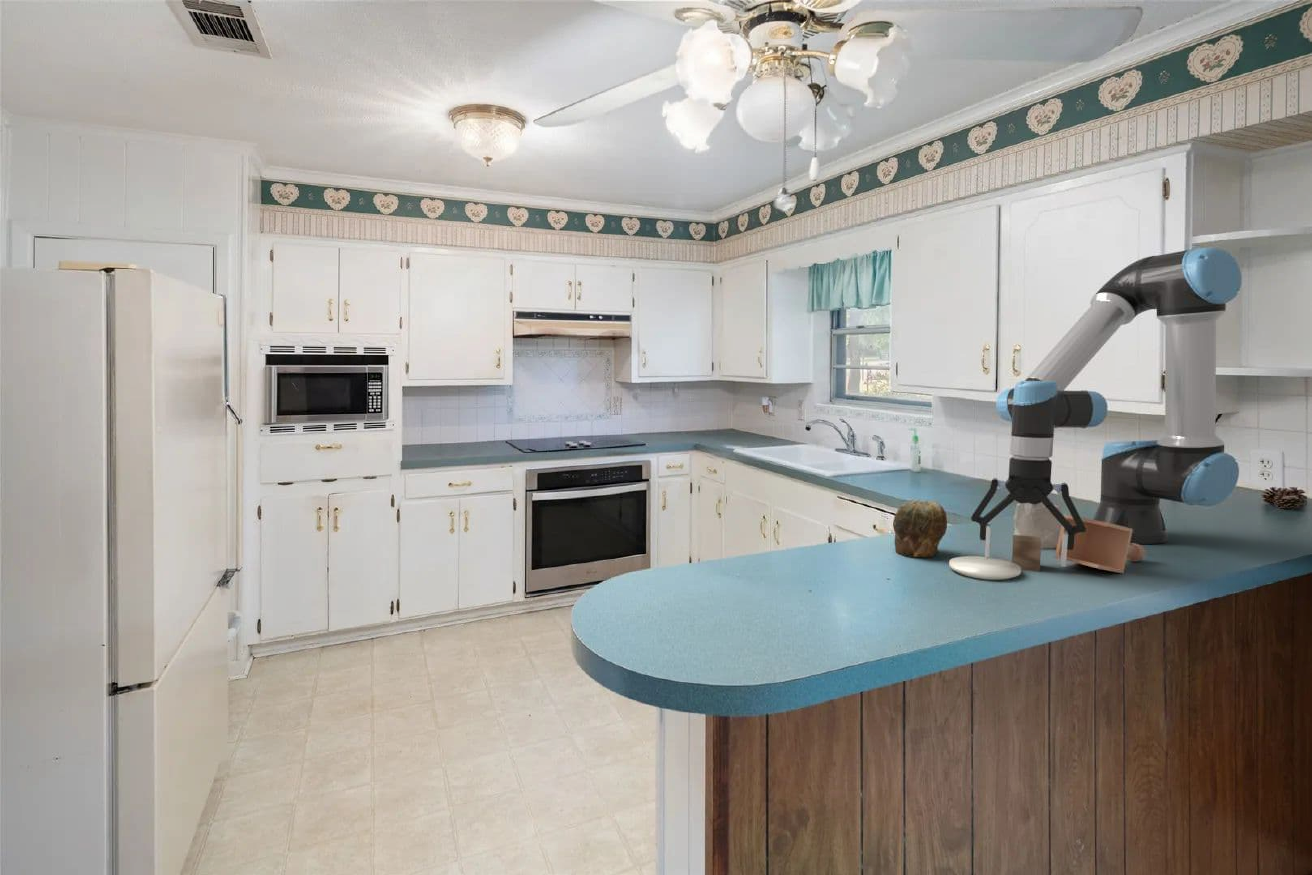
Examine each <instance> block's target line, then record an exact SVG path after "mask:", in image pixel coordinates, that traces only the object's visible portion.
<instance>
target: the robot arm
mask: <svg viewBox="0 0 1312 875" xmlns="http://www.w3.org/2000/svg"><path fill="white" fill-rule="evenodd" d="M1235 258H1236V257H1234V256H1232V254H1231V253H1230V252H1229V251H1227V250H1226V249H1223V248H1221V247H1217V246H1212V247H1211V246H1210V247H1209V246H1208V247H1195V248H1191V249H1185V250H1180V251H1175V252H1170V253H1166V254H1159V255H1158V254H1157V255H1151V256H1150V255H1149V256H1146V257H1143V258H1140V259H1138V260H1136V261H1134V262H1132V263H1131V264H1128V265H1127V266H1126V267H1124V268H1123V269H1121V270H1120V271H1118V272H1117V273H1116V274H1115V275H1113V276H1112V277H1111V278H1110V279H1109V280H1108V281H1107V282H1106V283H1104V284H1103V285H1102V286H1101V287H1100V289H1099V290H1098V291H1097V292H1096V293H1095V294H1094V295H1093V296H1092V297H1091V299H1090V307H1089V308H1088V309H1087V310H1086V311H1085V312H1084V313H1083V314H1082V316H1081V317H1080V318H1079V319H1078V320H1077V321H1076V322H1075V324H1073V326H1072V327H1071V328H1070V329H1069V330H1068V331H1067V332H1066V334H1065V335H1064V336H1063V337H1062V338H1061V339H1060V340H1059V342H1057V344H1056V345H1055V346H1054V347H1053V348H1052V349H1051V351H1049V353H1048V354H1047V355H1046V356H1045V357H1044V358H1043V360H1042V361H1041V362H1040V363H1039V364H1038V365H1037V366H1036V367H1035V368H1034V369H1033V371H1032V372H1031V373H1030V374H1029V375H1028V376H1027V377H1026V378H1025V379H1024V380H1020V381H1018V382H1016V384H1015V385H1014V387H1013V388H1007V389H1005V390H1003V391H1001V393H1000V394H999V395H998V396H997V398H996V402H995V407H996V409H995V410H996V413H997V414H998V416H999V417H1000V418H1001V419H1002V420H1004V421H1006V422H1011V432H1010V433H1011V434H1010V445H1009V446H1010V448H1009V454H1010V455H1011V456H1012V457H1010V458H1009V463H1008V464H1009V467H1008V478H1007V480H1002V479H999V478H997V477H993V478H992V479H991V482H990V488H988V490H987V492H986V494H985V495H984V497H983V498H982V500H981V501H980V502H979V504H978V506H977V507H976V509H975V510H974V512H973V513H972V515H971V517H970V519H971V521H972V522H975V523H977V524H978V525H979V529H980V530H979V539H980V541H985V543H984V544H985V545H984V546H985V547H984V557H988V558H989V557H990V547H991V546H990V545H991V544H990V543H991V530H992V528H991V526H992V524H991V523H990V522H991V521H992V520H993V519H994V518H995V517H997V516H998V515H999V514H1000V513H1001V512H1002V511H1003V510H1005V509H1006V508H1007V507H1008V506H1009V505H1011V504H1012V503H1013V502H1017V503H1018V504H1019V503H1030V504H1035V505H1037V504H1039V503H1041V502H1042V503H1043V504H1044V505H1045V507H1046V508H1047V509H1048V510H1049V511H1050V512H1051V513H1052V514H1053V516H1054V517H1055V518H1056V519H1057V520H1058V521H1059V522H1060V524H1061V525H1062V526H1063V527H1064V528H1065V529H1066V531H1067V532H1063V537H1062V551H1061V559H1060V565H1061V567H1065V568H1066V567H1067V560H1066V557H1067V550H1073V548H1074V537H1075V534H1076V533H1079V532H1085V531H1086V528H1085V526H1084V524H1083V522H1082V520H1081V518H1082V517H1081V515H1080V514H1079V512H1078V510H1077V508H1076V506H1075V504H1074V502H1073V500H1072V498H1071V496H1070V488H1069V485H1068V484H1067V483H1066V482H1062V483H1057V484H1056V483H1055V484H1053V483H1052V479H1051V478H1052V465H1053V462H1052V460H1051V459H1050V458H1052V457H1053V449H1054V437H1055V436H1054V435H1055V434H1054V433H1055V429H1057V428H1062V429H1065V428H1066V429H1067V428H1069V429H1070V428H1072V429H1073V428H1074V429H1075V428H1076V429H1077V428H1080V429H1086V428H1094V427H1097V426H1099V425H1101V424H1102V423H1103V422H1104V421H1105V419H1106V418H1107V416H1108V406H1109V405H1108V402H1107V400H1106V398H1105V397H1104V395H1102V394H1101V393H1099V392H1097V391H1092V390H1090V391H1089V390H1086V389H1085V390H1066V388H1068V386H1069V385H1070V384H1071V383H1072V382H1073V380H1075V378H1076V377H1077V376H1078V375H1079V374H1080V373H1081V372H1082V370H1084V368H1085V367H1086V366H1087V365H1088V364H1089V362H1090V361H1091V360H1092V359H1093V358H1094V357H1095V356H1096V354H1098V353H1099V351H1100V350H1101V349H1102V348H1103V347H1104V345H1105V344H1106V343H1107V342H1108V341H1109V340H1110V339H1111V338H1112V337H1113V335H1114V334H1115V333H1116V332H1117V331H1118V329H1120V328H1121V327H1122V326H1123V325H1127V324H1130V323H1131V322H1133V320H1134V319H1135V317H1137V316H1138V315H1140V314H1141V313H1143V312H1147V311H1151V310H1156V319H1158V320H1159V321H1160V322H1162V323H1163V324H1164V326H1165V327H1164V328H1165V329H1164V331H1165V332H1164V333H1165V334H1164V335H1165V336H1164V337H1165V338H1164V340H1165V342H1164V346H1165V347H1164V349H1165V351H1164V352H1165V353H1164V354H1165V356H1164V357H1165V358H1164V359H1165V361H1164V362H1165V363H1164V364H1165V366H1164V372H1165V374H1164V376H1165V377H1164V378H1165V379H1164V385H1165V386H1164V388H1165V389H1164V395H1165V396H1164V398H1165V400H1164V403H1165V404H1164V405H1165V406H1164V408H1165V409H1164V413H1165V415H1164V419H1165V420H1164V422H1165V423H1164V424H1165V426H1164V428H1165V429H1164V430H1165V434H1164V435H1163V436H1162V437H1161V438H1159V439H1149V440H1148V439H1146V440H1126V441H1125V440H1123V441H1110V442H1107V443H1106V444H1105V445H1104V446H1103V448H1102V450H1103V451H1102V457H1101V458H1100V459H1101V460H1100V461H1101V469H1100V480H1101V481H1100V499H1099V500H1100V502H1099V505H1098V507H1097V509H1096V511H1095V513H1094V515H1093V519H1092V520H1096V521H1101V522H1107V523H1111V524H1115V525H1119V526H1123V527H1127V528H1131V529H1133V531H1132V536H1131V540H1130V543H1136V544H1139V545H1140V544H1142V545H1146V544H1147V545H1150V544H1151V545H1152V544H1162V543H1166V542H1167V541H1168V530H1167V528H1166V524H1165V521H1164V517H1163V515H1162V511H1161V508H1160V502H1161V501H1160V500H1164V501H1165V500H1166V501H1172V502H1176V503H1180V504H1182V503H1183V504H1185V505H1188V506H1202V507H1214V506H1216V505H1219V504H1221V503H1222V502H1224V501H1225V500H1226V499H1228V497H1229V496H1230V495H1231V494H1232V493H1233V491H1234V490H1235V488H1236V486H1237V483H1238V481H1239V475H1240V467H1239V463H1238V461H1237V460H1236V458H1235V456H1233V455H1231V454H1229V453H1227V452H1225V441H1224V440H1222V439H1221V438H1220V437H1218V436H1217V434H1216V398H1217V397H1216V388H1217V387H1216V386H1217V385H1216V384H1217V382H1216V381H1217V378H1216V377H1217V376H1216V373H1217V368H1216V367H1217V361H1216V360H1217V322H1218V320H1219V319H1220V318H1221V316H1224V314H1225V313H1226V312H1227V311H1226V310H1227V309H1226V307H1227V306H1226V305H1227V304H1228V303H1229V302H1231V301H1232V300H1234V299H1235V298H1236V297H1237V296H1238V292H1239V291H1240V290H1241V287H1242V280H1243V279H1242V278H1243V277H1242V271H1241V268H1240V265H1239V263H1238V261H1237V259H1235ZM1003 487H1005V489H1007V491H1008V492H1009V494H1008V495H1006V496H1005V497H1004V499H1002V500H1001V501H999V503H997V504H996V505H995V506H994V507H993V508H991V509H990V510H989V511H988V513H986V514H985V515H984V516H983V517H982V516H981V515H982V513H983V512H984V511H985V509H987V508H986V507H987V506H988V504H989V503H990V502H991V500H992V499H993V498H994V496H995V494H996V492H997V491H1000V490H1001V489H1002V488H1003ZM1053 491H1055V492H1056V493H1057V495H1059V496H1061V497H1062V499H1063V501H1064V503H1065V505H1066V507H1067V510H1068V512H1069V514H1070V515H1071V516H1072V517H1073V519H1074V521H1075V523H1076V525H1075V526H1072V525H1071V524H1070V523H1069V522H1068V520H1067V519H1066V518H1065V517H1064V514H1063V515H1062V514H1061V512H1060V511H1059V510H1058V509H1057V508H1056V507H1055V506H1054V505H1055V504H1054V503H1053V502H1052V501H1051V499H1050V498H1049V497H1048V496H1049V495H1050V494H1051V493H1052V492H1053ZM1080 517H1081V518H1080Z"/></svg>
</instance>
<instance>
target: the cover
mask: <svg viewBox="0 0 1312 875" xmlns="http://www.w3.org/2000/svg"><path fill="white" fill-rule="evenodd" d="M1063 516H1064V517H1065V518H1066V519H1067V520H1068V522H1069V523H1070V524H1071V525H1072V526H1075V525H1076V523H1075V521H1074V519H1073V517H1072V515H1071V514H1065V513H1063ZM1080 518H1081V520H1082V522H1083V524H1084V526H1085V528H1086V531H1085V532H1079V533H1076V534H1075V537H1074V548H1073V550H1067V557H1066V562H1072V563H1076V564H1080V565H1083V566H1086V567H1087V566H1088V567H1091V568H1096V569H1098V570H1104V571H1109V572H1113V573H1117V574H1118V573H1120V574H1124V572H1125V567H1126V563H1127V560H1128V561H1130V562H1136V563H1137V562H1139V561H1142V560H1144V558H1145V556H1146V550H1145V548H1144V547H1143V546H1142V545H1140V543H1130V540H1131V536H1132V531H1133V529H1131V528H1127V527H1123V526H1119V525H1115V524H1111V523H1107V522H1101V521H1096V520H1093V519H1092V518H1091V519H1090V518H1087V517H1086V518H1085V517H1081V516H1080ZM1063 532H1067V531H1066V529H1065V528H1064V527H1063V526H1061V531H1060V536H1059V540H1058V545H1057V548H1055V549H1056V550H1055V556H1054V558H1056V559H1058V560H1059V559H1060V560H1061V551H1062V537H1063Z"/></svg>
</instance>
